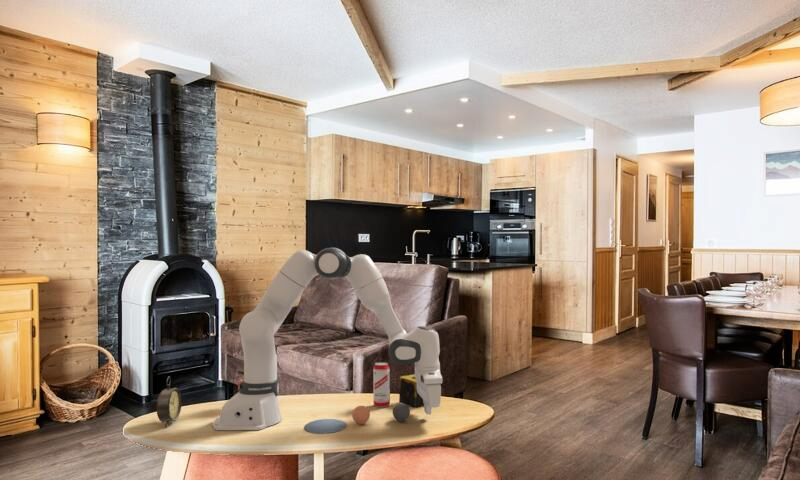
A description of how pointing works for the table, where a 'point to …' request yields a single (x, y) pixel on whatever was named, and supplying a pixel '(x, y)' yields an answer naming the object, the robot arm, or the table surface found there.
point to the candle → (409, 392)
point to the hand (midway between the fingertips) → (427, 413)
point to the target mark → (325, 426)
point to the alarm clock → (169, 404)
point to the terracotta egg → (361, 414)
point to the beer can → (381, 385)
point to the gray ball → (401, 412)
